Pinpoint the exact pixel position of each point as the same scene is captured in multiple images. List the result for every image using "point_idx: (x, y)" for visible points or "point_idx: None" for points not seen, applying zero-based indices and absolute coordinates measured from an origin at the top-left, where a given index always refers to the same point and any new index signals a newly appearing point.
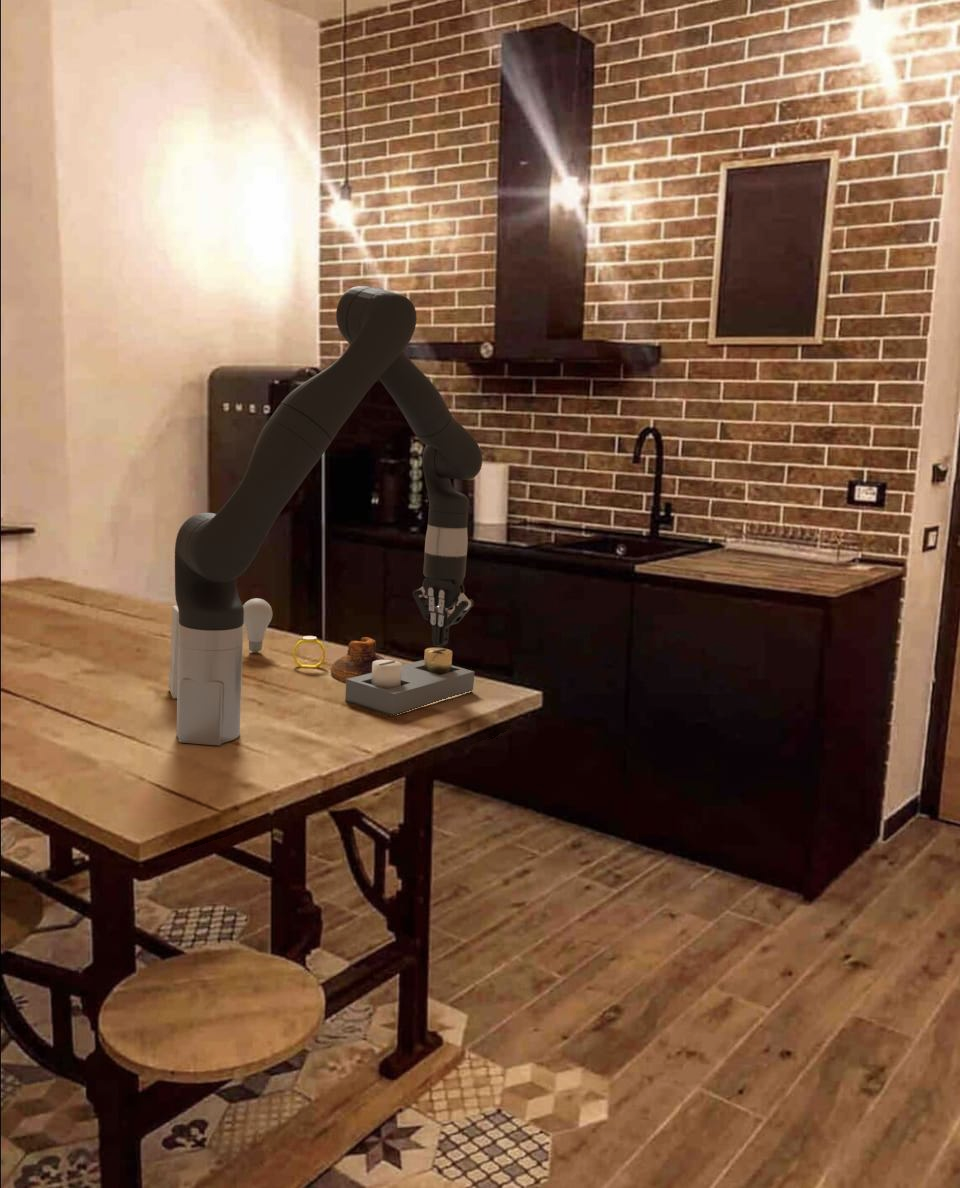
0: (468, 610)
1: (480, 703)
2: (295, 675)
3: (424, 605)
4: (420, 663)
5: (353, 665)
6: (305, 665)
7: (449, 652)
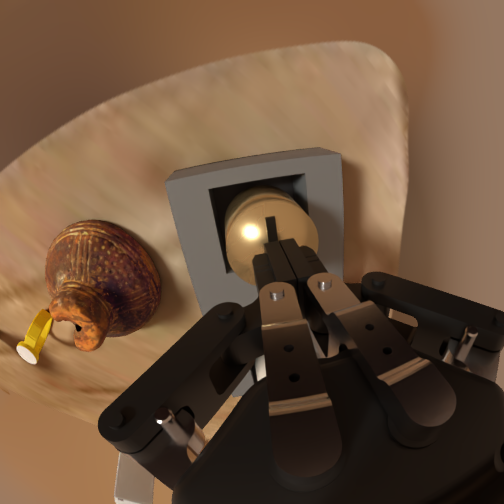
0: (466, 301)
1: (373, 191)
2: (86, 355)
3: (220, 401)
4: (198, 234)
5: (123, 332)
6: (45, 325)
7: (306, 227)
